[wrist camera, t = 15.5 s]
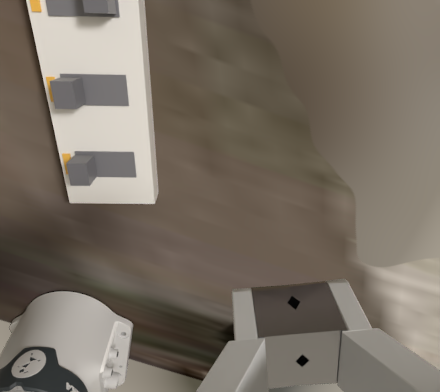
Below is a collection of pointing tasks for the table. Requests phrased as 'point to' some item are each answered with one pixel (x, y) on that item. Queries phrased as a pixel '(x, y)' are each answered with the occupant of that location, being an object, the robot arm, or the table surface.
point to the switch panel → (101, 96)
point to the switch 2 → (99, 6)
